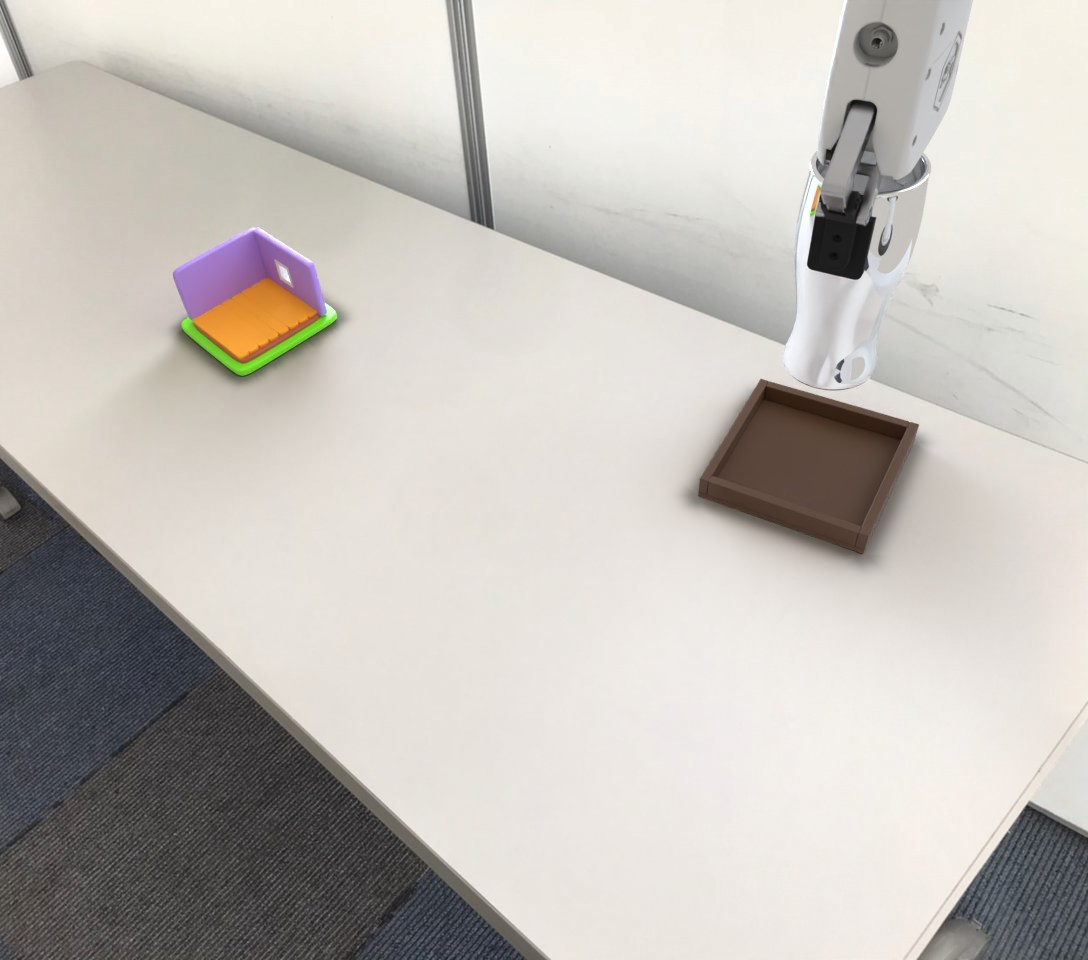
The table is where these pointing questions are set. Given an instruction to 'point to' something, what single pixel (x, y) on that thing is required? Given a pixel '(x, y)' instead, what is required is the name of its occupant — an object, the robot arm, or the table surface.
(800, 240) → the beer glass
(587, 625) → the table surface
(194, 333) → the dollhouse room
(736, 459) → the tray
